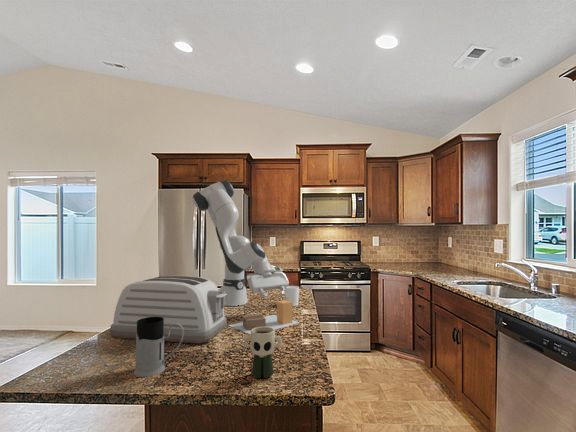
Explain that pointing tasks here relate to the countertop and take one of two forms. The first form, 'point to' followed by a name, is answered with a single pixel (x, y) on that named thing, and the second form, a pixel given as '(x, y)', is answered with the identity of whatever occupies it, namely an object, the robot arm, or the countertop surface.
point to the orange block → (284, 312)
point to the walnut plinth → (253, 321)
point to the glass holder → (151, 346)
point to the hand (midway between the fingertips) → (274, 296)
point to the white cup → (292, 294)
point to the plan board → (270, 322)
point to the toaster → (172, 308)
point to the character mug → (262, 350)
